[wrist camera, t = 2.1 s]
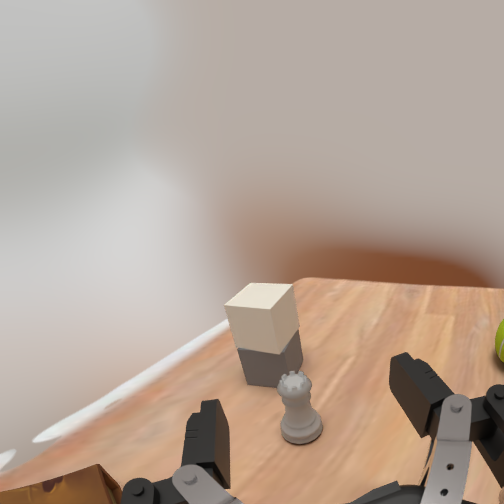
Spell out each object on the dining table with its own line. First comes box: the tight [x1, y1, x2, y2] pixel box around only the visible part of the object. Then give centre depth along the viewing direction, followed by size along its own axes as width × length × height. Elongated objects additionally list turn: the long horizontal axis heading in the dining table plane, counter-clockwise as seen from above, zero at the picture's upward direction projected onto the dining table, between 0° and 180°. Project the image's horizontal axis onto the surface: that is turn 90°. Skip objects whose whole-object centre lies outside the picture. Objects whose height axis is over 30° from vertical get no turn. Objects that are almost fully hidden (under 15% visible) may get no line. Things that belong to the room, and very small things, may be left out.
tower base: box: [237, 330, 303, 388], centre depth 38 cm, size 6×6×6 cm
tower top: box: [224, 283, 300, 354], centre depth 36 cm, size 6×6×6 cm
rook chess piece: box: [277, 371, 323, 444], centre depth 27 cm, size 4×4×8 cm
